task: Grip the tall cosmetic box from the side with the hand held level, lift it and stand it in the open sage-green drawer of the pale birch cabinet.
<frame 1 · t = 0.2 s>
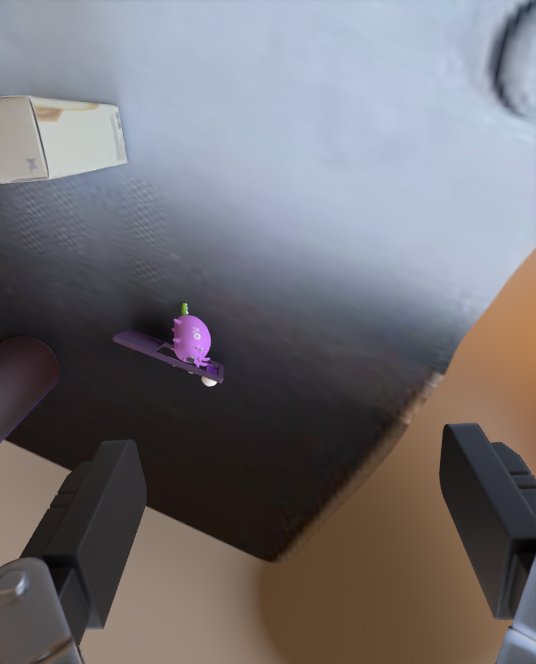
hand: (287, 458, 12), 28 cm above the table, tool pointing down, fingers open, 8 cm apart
beverage can: (32, 361, 45), on the table
cosmetic box: (84, 138, 37), on the table
purple figurine: (185, 327, 42), on the table
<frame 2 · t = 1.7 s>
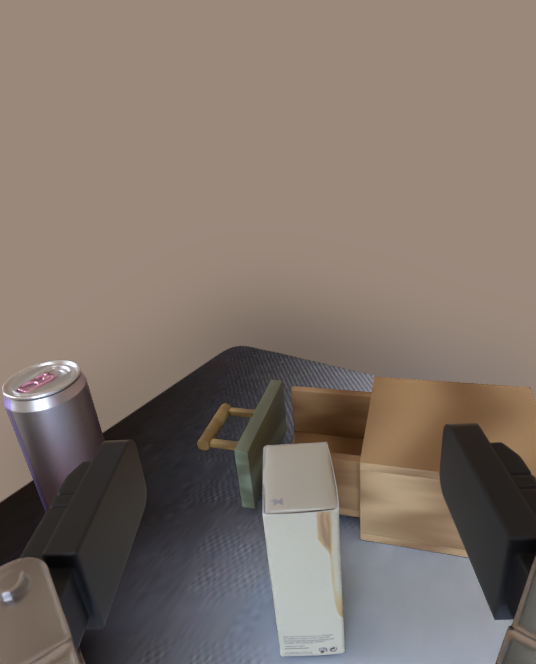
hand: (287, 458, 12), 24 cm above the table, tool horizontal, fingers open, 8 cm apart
drawer: (297, 442, 44), point 4 cm above the table, slide at 9.0 cm
beverage can: (91, 523, 43), on the table
cosmetic box: (309, 612, 33), on the table
cabinet: (445, 495, 42), on the table
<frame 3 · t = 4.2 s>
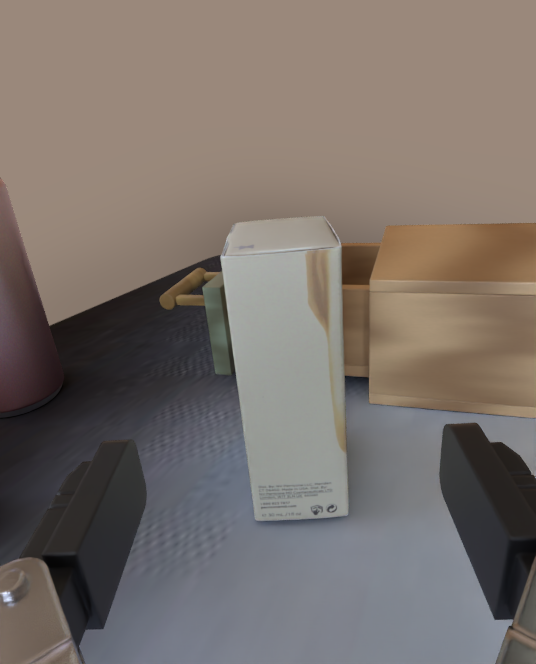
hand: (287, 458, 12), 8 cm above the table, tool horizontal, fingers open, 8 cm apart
drawer: (287, 301, 34), point 4 cm above the table, slide at 9.0 cm
beverage can: (22, 398, 33), on the table
cosmetic box: (298, 476, 24), on the table
cabinet: (479, 361, 32), on the table
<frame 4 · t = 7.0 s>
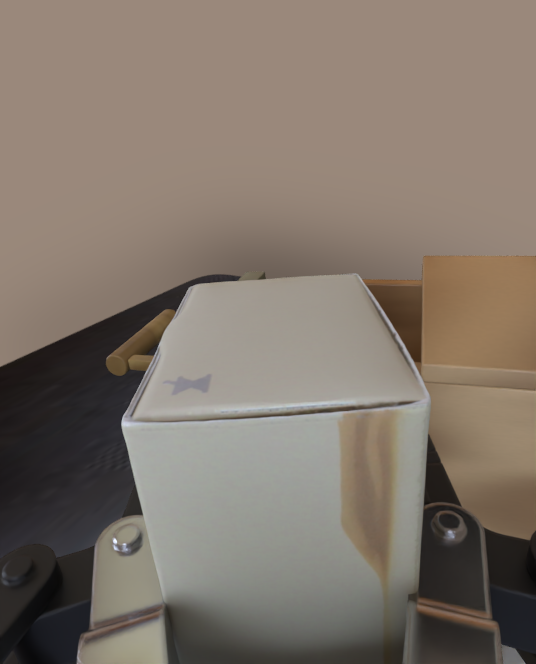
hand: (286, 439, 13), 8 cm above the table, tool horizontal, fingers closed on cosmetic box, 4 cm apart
drawer: (287, 364, 24), point 4 cm above the table, slide at 9.0 cm
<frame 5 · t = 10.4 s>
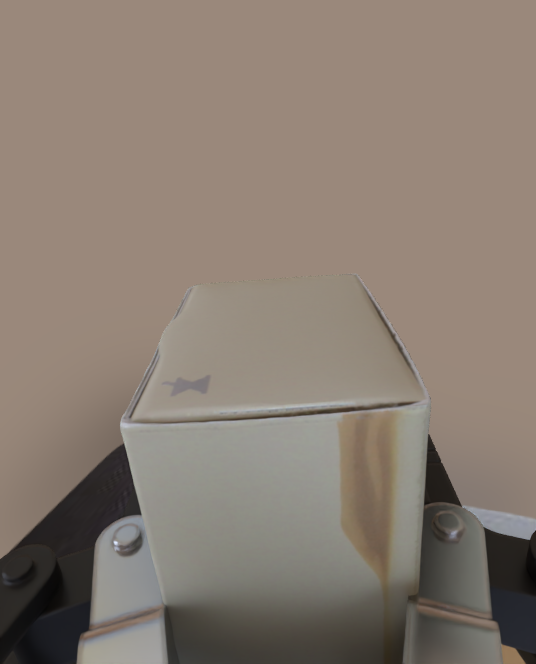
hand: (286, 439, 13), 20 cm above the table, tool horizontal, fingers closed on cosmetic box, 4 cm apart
when the fingers open (9 cm above the table, at t = 14.1 s): cosmetic box stays where it is, resting on drawer.
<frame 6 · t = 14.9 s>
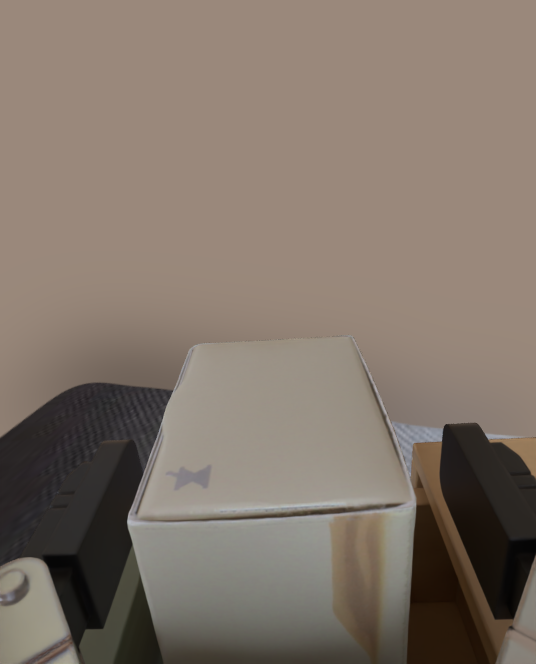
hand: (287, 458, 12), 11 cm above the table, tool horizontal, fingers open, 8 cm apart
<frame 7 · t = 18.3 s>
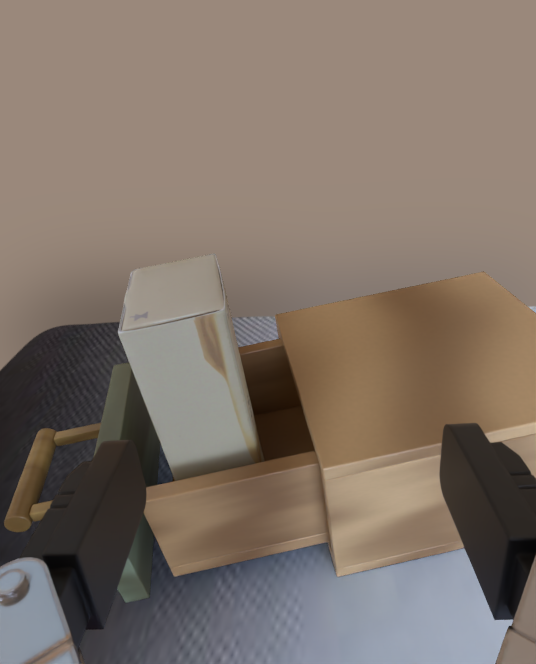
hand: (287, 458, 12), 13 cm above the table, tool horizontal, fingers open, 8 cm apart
drawer: (187, 455, 26), point 4 cm above the table, slide at 9.0 cm, touching cosmetic box
cosmetic box: (229, 477, 27), point 2 cm above the table, touching drawer
cabinet: (418, 453, 29), on the table
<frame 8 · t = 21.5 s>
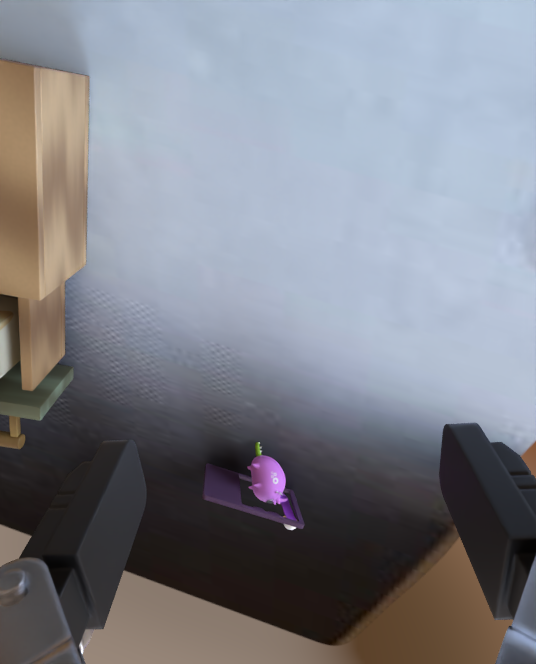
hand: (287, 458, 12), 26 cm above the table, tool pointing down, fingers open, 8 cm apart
cosmetic box: (0, 312, 38), point 2 cm above the table, touching drawer
cabinet: (2, 162, 35), on the table
purple figurine: (257, 460, 46), on the table
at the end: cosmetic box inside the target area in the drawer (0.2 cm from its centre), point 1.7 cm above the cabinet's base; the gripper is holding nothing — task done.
